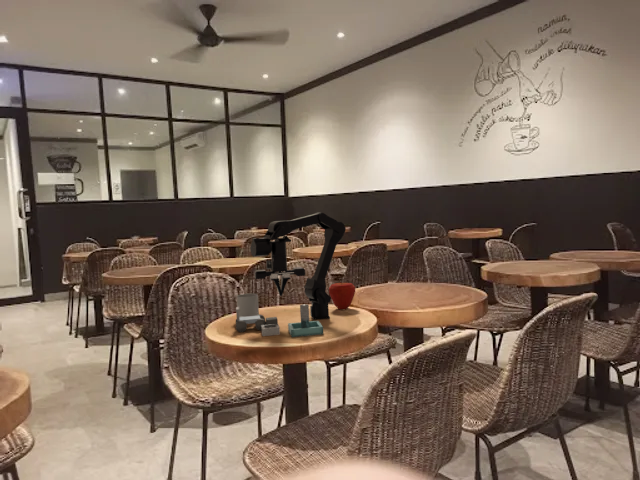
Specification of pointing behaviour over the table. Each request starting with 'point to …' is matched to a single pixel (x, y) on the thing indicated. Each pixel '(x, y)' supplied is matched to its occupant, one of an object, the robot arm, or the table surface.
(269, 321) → the dark grey cube
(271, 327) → the socket
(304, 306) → the pin
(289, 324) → the tray
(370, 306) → the table surface
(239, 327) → the trolley
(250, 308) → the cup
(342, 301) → the apple
